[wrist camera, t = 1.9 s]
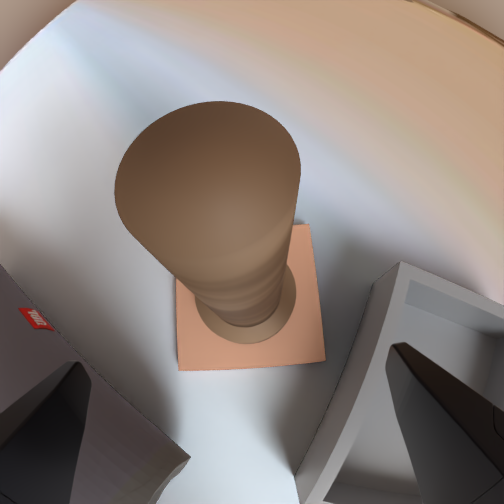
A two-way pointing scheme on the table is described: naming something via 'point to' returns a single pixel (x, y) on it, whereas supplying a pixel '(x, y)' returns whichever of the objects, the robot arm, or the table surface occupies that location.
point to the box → (378, 392)
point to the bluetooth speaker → (98, 417)
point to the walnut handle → (218, 211)
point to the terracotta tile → (271, 350)
